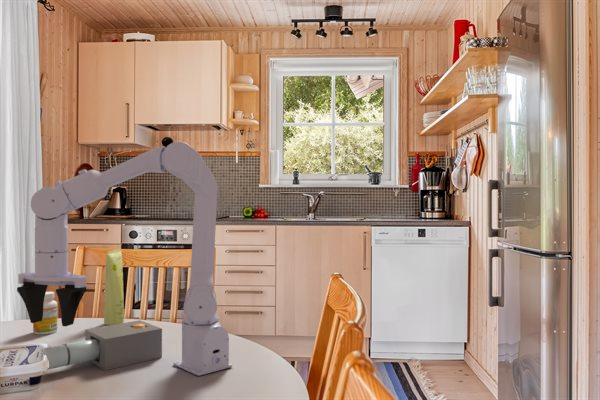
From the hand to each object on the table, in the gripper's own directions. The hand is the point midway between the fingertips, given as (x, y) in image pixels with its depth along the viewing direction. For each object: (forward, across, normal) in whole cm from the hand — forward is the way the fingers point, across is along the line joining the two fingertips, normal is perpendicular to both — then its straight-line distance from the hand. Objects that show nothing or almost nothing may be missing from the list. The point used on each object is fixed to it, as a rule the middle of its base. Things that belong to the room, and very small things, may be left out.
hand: (52, 323), depth 99 cm
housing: (+10, -6, -13) cm, 17 cm away
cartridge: (+9, -2, -5) cm, 10 cm away
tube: (+10, +15, -36) cm, 40 cm away
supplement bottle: (+10, +25, -23) cm, 36 cm away
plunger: (+6, -8, -16) cm, 19 cm away
